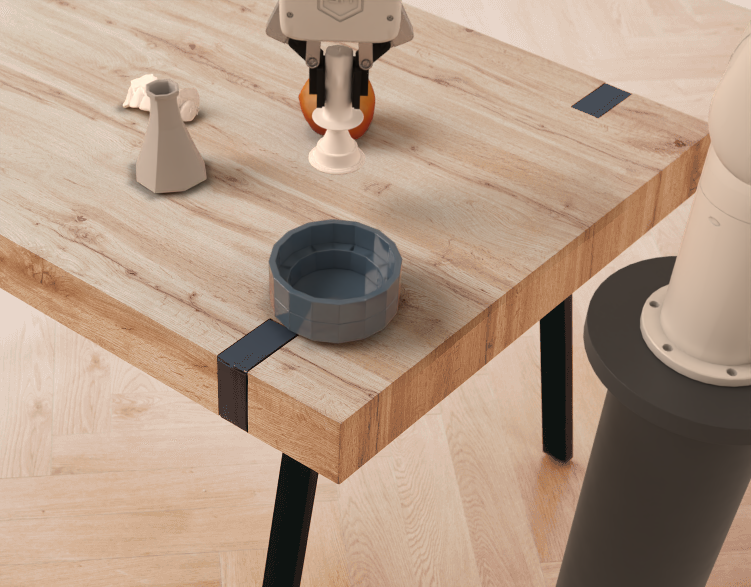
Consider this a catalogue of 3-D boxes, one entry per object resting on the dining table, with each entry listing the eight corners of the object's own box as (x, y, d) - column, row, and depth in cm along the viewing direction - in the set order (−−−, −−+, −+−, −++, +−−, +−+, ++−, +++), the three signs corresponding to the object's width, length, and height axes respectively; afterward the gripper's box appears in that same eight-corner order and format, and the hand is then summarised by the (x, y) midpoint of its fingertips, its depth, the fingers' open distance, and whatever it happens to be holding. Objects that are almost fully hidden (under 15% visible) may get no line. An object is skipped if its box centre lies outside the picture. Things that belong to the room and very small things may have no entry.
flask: (124, 164, 109) (112, 77, 103) (191, 147, 112) (183, 61, 105) (149, 203, 105) (138, 114, 98) (218, 183, 107) (212, 96, 101)
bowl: (420, 289, 97) (424, 246, 93) (358, 365, 89) (359, 321, 86) (314, 248, 100) (314, 205, 97) (246, 317, 93) (243, 273, 90)
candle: (371, 172, 100) (376, 57, 92) (314, 178, 99) (315, 62, 91) (357, 140, 104) (362, 27, 96) (303, 146, 103) (303, 32, 95)
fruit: (396, 103, 117) (382, 64, 110) (366, 165, 115) (349, 129, 108) (332, 83, 120) (313, 43, 112) (301, 143, 118) (280, 107, 111)
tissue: (172, 134, 114) (169, 103, 111) (118, 109, 117) (113, 78, 114) (207, 112, 117) (205, 81, 115) (153, 88, 120) (150, 58, 118)
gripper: (236, -86, 82) (245, 120, 94) (447, -79, 82) (429, 126, 95) (243, -123, 87) (251, 76, 100) (441, -116, 88) (425, 82, 100)
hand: (338, 99), depth 97 cm, fingers closed on candle, 2 cm apart
